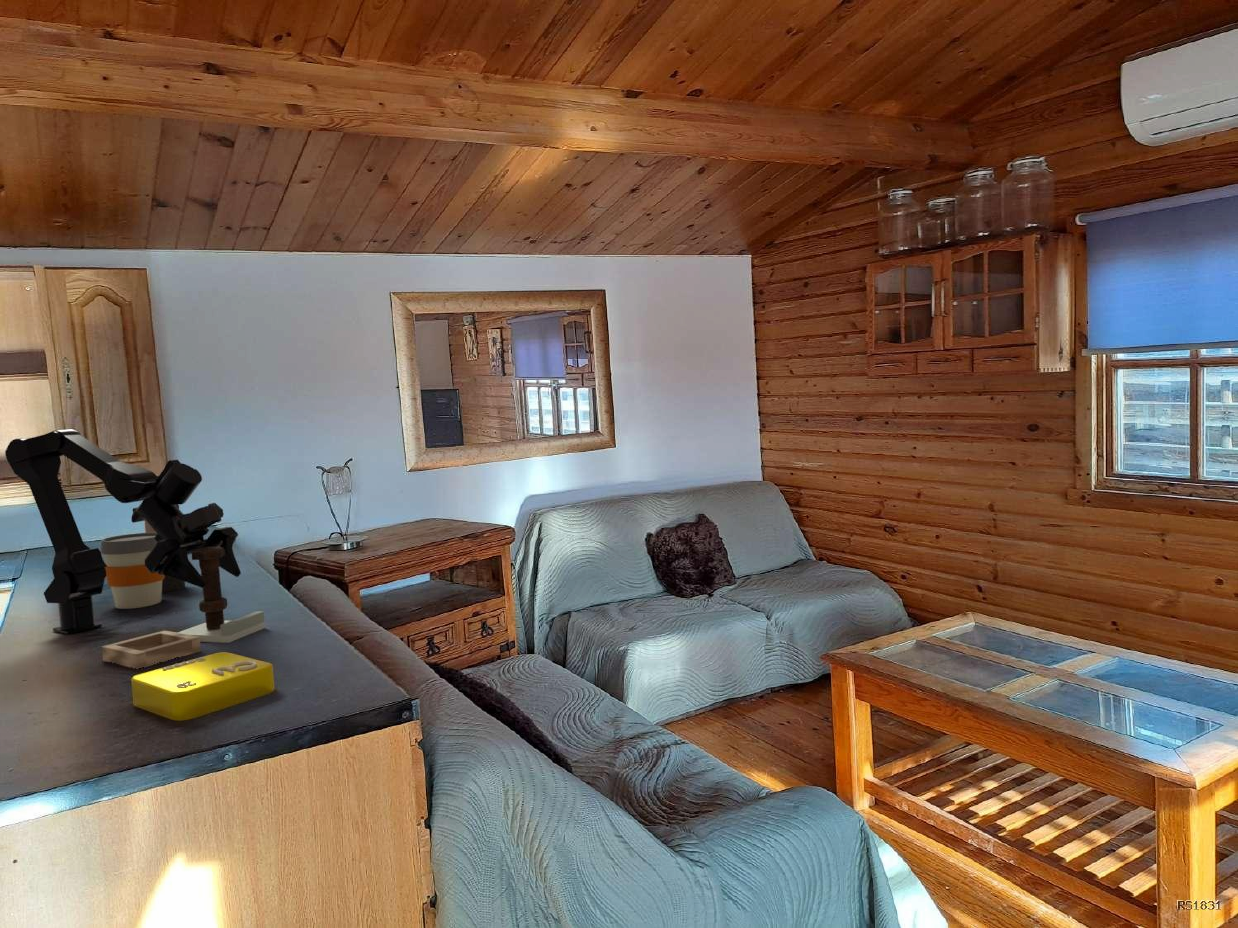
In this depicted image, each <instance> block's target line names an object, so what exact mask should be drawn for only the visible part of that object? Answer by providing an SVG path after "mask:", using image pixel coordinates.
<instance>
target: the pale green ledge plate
mask: <svg viewBox="0 0 1238 928" xmlns="http://www.w3.org/2000/svg"><path fill="white" fill-rule="evenodd" d="M224 622H225V623H224V624H222V625H220V628H219V629H213V630H208V629H207V628H206V626H207V625H206V624H207V623H206V622H203V623H200V624H198V625H194V626H192V627H190V628H187V629H183V630H181V631H179V632H177V633H181V634H186V635H191V636H196V637H200V643H201V642H203V643H206V642H207V643H222V644H225V643H227V644H228V643H232V642H234V641H236V640H239V639H241V638H243V637H246V636H250V635H252V634H254V633H256V632H259V631H261V630H263V629H265V628H266V624H265V623H266V621H265V611H263V610H262V611H260V610H259V611H254V612H252V613H249V614H247V615H244V616H241V617H239V618H238V617H237V618H236V619H232V620H225V619H224Z"/></svg>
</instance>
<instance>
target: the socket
mask: <svg viewBox="0 0 1238 928" xmlns="http://www.w3.org/2000/svg"><path fill="white" fill-rule="evenodd" d="M101 652H102V660H103V662H106V663H107V662H108V663H110V662H112V663H111V664H114V663H116V664H115V665H118V664H119V665H120V666H123V667H127V668H131V667H132V668H131V669H135V668H136V669H135V670H140V669H139V668H141V669H143V668H142V667H144V668H148V667H151V666H154V664H155V665H158V664H160V663H159V662H162V663H165V662H168V660H169V661H171V659H172V660H175V659H174V658H176V657H179V658H182V656H183V657H185V656H188V655H193V654H195V653H199V652H202V647H201V642H200V637H196V636H191V635H186V634H181V633H178V632H174V631H170V630H165V629H164V630H161V631H157V632H153V633H150V634H144V635H141V636H138V637H135V638H134V637H133V638H130V639H126V640H122V641H118V642H114V643H110V644H107V645H102V646H101ZM176 659H177V658H176ZM157 663H158V664H157ZM119 665H118V666H119Z"/></svg>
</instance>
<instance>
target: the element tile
mask: <svg viewBox="0 0 1238 928" xmlns="http://www.w3.org/2000/svg"><path fill="white" fill-rule="evenodd" d="M130 681H131V692H132V705H133V706H134V707H136V708H139V709H141V710H144V711H147V712H149V713H151V714H152V713H153V714H154V715H155V714H156V715H158V716H160V717H164V718H166V719H169V720H170V721H171V720H172V721H179V722H181V721H188V720H192V719H196V718H199V717H202V716H205V715H208V714H212V713H214V712H217V711H220V710H223V709H227V708H229V707H232V706H235V705H238V704H241V703H245V702H247V701H251V700H254V699H257V698H260V697H263V696H265V695H268V694H271V693H273V692H274V691H275V677H274V665H273V664H272V663H270V662H266V661H263V660H259V659H255V658H252V657H247V656H245V655H240V654H235V653H231V652H226V651H219V652H215V653H212V654H207V655H205V656H200V657H198V658H197V657H196V658H194V659H189V660H186V661H185V660H183V662H179V663H177V662H176V663H175V664H172V665H168V666H164V667H160V668H158V669H154V670H150V671H147V672H143V673H142V672H141V673H138V674H136V675H133V677H131V680H130Z"/></svg>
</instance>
